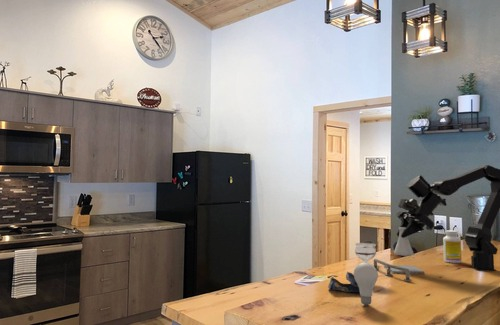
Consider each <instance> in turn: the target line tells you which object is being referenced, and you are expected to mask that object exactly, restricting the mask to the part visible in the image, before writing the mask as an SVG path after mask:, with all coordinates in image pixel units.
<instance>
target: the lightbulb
mask: <svg viewBox="0 0 500 325" xmlns="http://www.w3.org/2000/svg"><path fill="white" fill-rule="evenodd" d="M353 275H354V278H355V280H356V282H357V284H358V287H359V295H360V302H361V304H362V305H363V306H365V307H368V306H369V305H371V304H372V296H373V291H374V287H375V285H376V283H377V280H378V278H379V273H378V270H376V268H375V267H374V264H371V263H370V262H367V263H365V262H364V261H363V262H361V263H360V262H359V263H358V264H357V265H356V266H355V268H354V269H353Z"/></svg>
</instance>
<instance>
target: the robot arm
mask: <svg viewBox="0 0 500 325" xmlns="http://www.w3.org/2000/svg"><path fill="white" fill-rule="evenodd" d="M483 178H484V179H485V180H486V181H488V182H490V189H491V191H490V194H489V195H488V198H487V200H486V202H485V205H484V208H483V210H482V212H481V214H480V216H479V219H478V220H477V223H476V224H475V225H474V226H468V227H467V231H466V233H465V234H464V236H465V238H464V241H465V244H466V246H468V249H469V251H470V252H472V255H471V256H470V257H471V258H470V259H471V260H470V261H471V262H470V263H471V268H473V269H475V270H477V271H488V272H491V271H492V272H496V271H497V270H496V269H495V260H494V259H495V256H494V255H497V254H498V247H497V246H495V245H494V244H493V243H492V239H493V236H492V227H493V225H494V223H495V221H496V219H497V216H498V214H499V212H500V168H498V167H497V168H496V167H494V166H492V165H489V164H486V165H484V164H483V165H479V166H478V167H476V168H473V169H472V170H469V171H466V172H464V173H461V174H459V175H457V176H454V177H451V178H450V177H449V178H446V179H440V180H436V181H434V182H433V183H432V184H430V183H429V182H428V181H427V180H426V179H425V178H424V176H422V175H417V176H415V177H414V178H413V179H412V180H409V182H408V183H407V184H406V188H407V189H408V190H409V191H410V192H411V193H412V194H413V195H414V196H415V197H416V198H417V199H419V198H421V199H420V201H419V202H418V200H417V199H415V198H410V199H406V198H401V199H400V200H399V204H398V205H397V207H398V208H401V209H404V211H398V212H397V213H396V215H395V216H396V217H397V218H398V219H399V220H400V222H401V223H400V227H406V229H405V230H404V232H403V233H402V235H401V237H402V238H404V237H407V236H408V237H409V236H412V235H414V234H416V233H419V232H422V231H424V230H425V229H426V230H428V231H432V230H433V229H434V228H435V222H434V221H433V220H432V219H431V218H430V217H431V216H433V215H434V211H435V210H436V209H437V207H438V206H441V207H442V206H443V207H447V200H446V198H442V196H451V195H453V194H454V193H456V192H458V191H459V190H460V188H462V187H464V186H465V185H466V186H467V185H469V184H471V183H473V182H475V181H478V180H481V179H483ZM425 226H426V227H425ZM424 227H425V229H424ZM396 236H397V237H398V238H399V229H398V231H397V233H396Z"/></svg>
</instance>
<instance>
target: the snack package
mask: <svg viewBox="0 0 500 325" xmlns="http://www.w3.org/2000/svg"><path fill="white" fill-rule="evenodd" d="M345 278H346V280H347V281H348V282H349V283H343V282H340V280H337V279H336V278H334V277H332V278H331V279H330V280H329V281H330V282H328V285H327V288H328V290H329V291H332V290H333V291H340V292H347V293H357V292H358V293H360V291H359V287H358V284H357V282H356V280H355V278H354V273H352V272H349V271H347V272H346V274H345Z"/></svg>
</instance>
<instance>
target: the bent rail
mask: <svg viewBox="0 0 500 325" xmlns="http://www.w3.org/2000/svg"><path fill="white" fill-rule="evenodd" d="M378 264H381V265H382V266H384V265H385V266H387V269H386V273H385V274H384V276H386V277H392V276H393V273H392V272H390V268H394V269H398V270H402V271H405V272H406V274H405V278H403V281H404V282H406V281H408V282H409V283H411V281H412V280H413V279H412V278H410V275H411V274H410V273H409V270H408V269H406V268H402V267H398V266H394V265H393V264H390V263H388V262H386V261H385V262H384V261H382V260H380V259H377V258H374V259H373V266H374V267H375V268H376V270H377V271H378V270H380V268H379V267H378Z"/></svg>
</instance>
